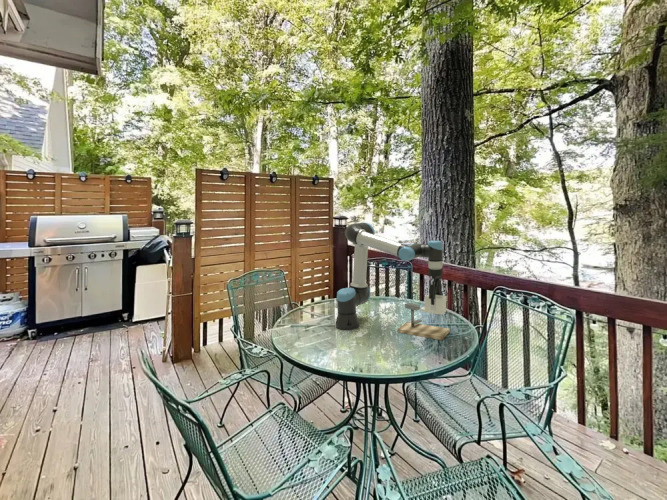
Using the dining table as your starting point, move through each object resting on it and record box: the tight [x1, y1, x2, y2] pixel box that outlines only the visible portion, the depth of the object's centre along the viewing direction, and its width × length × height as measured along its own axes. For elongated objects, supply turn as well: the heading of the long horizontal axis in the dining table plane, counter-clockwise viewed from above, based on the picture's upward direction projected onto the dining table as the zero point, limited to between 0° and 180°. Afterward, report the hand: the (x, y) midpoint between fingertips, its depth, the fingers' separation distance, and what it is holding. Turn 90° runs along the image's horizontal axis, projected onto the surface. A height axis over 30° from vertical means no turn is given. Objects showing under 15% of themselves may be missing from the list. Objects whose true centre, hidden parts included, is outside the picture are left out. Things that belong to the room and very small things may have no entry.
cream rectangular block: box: [419, 293, 447, 316], centre depth 191 cm, size 13×7×9 cm, turn 55°
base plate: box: [397, 321, 451, 341], centre depth 197 cm, size 26×14×2 cm, turn 55°
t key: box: [404, 302, 423, 327], centre depth 201 cm, size 10×8×13 cm
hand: (435, 308), depth 191 cm, fingers closed on cream rectangular block, 7 cm apart
